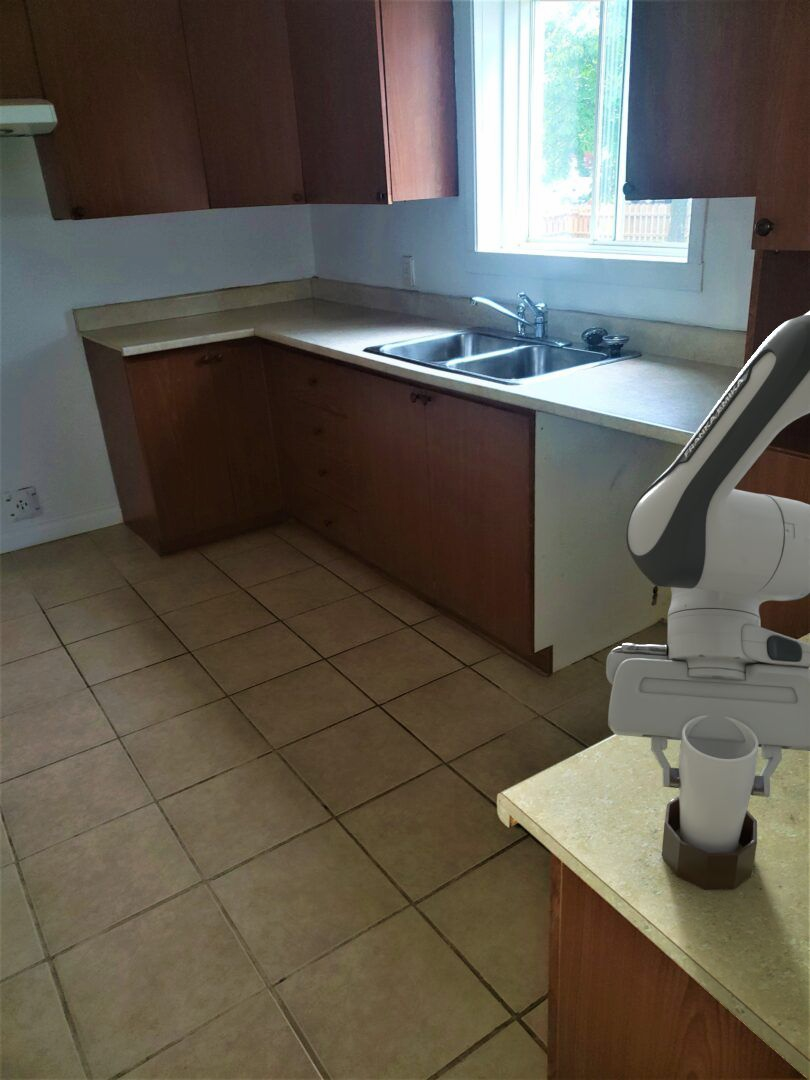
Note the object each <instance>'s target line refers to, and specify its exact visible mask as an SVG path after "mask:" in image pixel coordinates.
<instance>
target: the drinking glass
mask: <svg viewBox="0 0 810 1080" xmlns="http://www.w3.org/2000/svg"><path fill="white" fill-rule="evenodd" d="M706 717H708V716H699V717H696V718H693V719H692V720H690V721H689V722H687V723H686V724H685V726H684V728H683V730H682V737H681V740H680V744H679V752H678V753H679V754H678V768H679V777H678V778H679V780H680V787H679V788H678V796H679V803H680V829H679V838H680V839H681V841H683V842H685V843H687V844H689V845H692V846H694V847H696V848H698V849H700V850H703V851H705V852H707V853H737V852H738V845H739V838H740V834H741V830H742V826H743V823H744V819H745V815H746V811H748V807H749V803H750V800H751V796H752V795H751V792H752V788H753V784H754V779H755V775H757V774H756V773H757V766H758V756H759V747H758V739H757V737H756V735H755V733H754V732H753V731H752V730H751V729H750V728H749V727H748V726H746V725H745V724H743V723H741V722H740V721H737V720H735V719H732V718H729V717H725V718H726V719H728V720H730V721H731V722H732V723H734V724H735V725H736V726H737V727H738V728H739V729H740V730H741V732H742V733H743V735H744V737H745V740H746V742H744V743H741V742H729V741H717V740H705V739H693V738H688V734H689V732H690V730H691V729H692V727H693V726H694V725H695V724H696V723H697V722H699V721H700V720H702V719H703V718H706Z"/></svg>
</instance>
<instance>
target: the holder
mask: <svg viewBox="0 0 810 1080" xmlns="http://www.w3.org/2000/svg"><path fill="white" fill-rule="evenodd" d="M678 831H680V803H679V795H677V796H676V797H674V798H673V799H671V800H670V801H668V802H666V808H665V815H664V822H663V833H662V834H663V835H662V848H661V857H662V858H663V860H664V862H666V864H667V866H668V867H669V868H670V870H671V871H672V873H674V875H675V876H676V877H677V878H678V879H681V880H683V881H685V882H687V883H690V884H691V885H694V886H696V887H698V888H700V889H702V890H703V891H713V890H714V891H715V890H716V891H717V890H721V891H722V890H735V889H736V888H737V887H739V886H740V885H742V884H743V883H744V882H746V881H747V880H748V879H749V878H751V877H752V876H753V872H754V864H755V857H756V851H757V844H758V820H757V819H756V818H755V817H754V816H753V814H751V813H750V812H749V810H747V811H746V815H745V819H744V823H743V826H742V830H741V834H740V838H739V842H738V845H740V846H741V847H742V848H741V849H739V850H737V853H707V852H705V851H703V850H700V849H698V848H696V847H694V846H692V845H689V844H687V843H685V842H683V841H681V839H680V836H679V835H678V834H677V833H676V832H678Z"/></svg>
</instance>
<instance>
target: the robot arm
mask: <svg viewBox="0 0 810 1080" xmlns="http://www.w3.org/2000/svg"><path fill="white" fill-rule="evenodd" d="M808 414H810V310H809V311H807V312H806V313H804V314H803V315H800V316H797V317H794V318H791V319H788V320H787V321H784V322H783V323H782V324H780V325H779V326H778V327H777V328H775V329H774V330H773V331H772V333H771V334H769V335H768V336H767V338H766V339H765V340H764V341H763V342H762V344H761V345H760V346H759V347H758V348H757V349H756V351H755V352H754V353H753V354H752V355H751V357H750V359H748V360H747V362H746V364H745V365H744V366H743V368H742V369H740V372H739V373H738V374H737V376H736V377H735V378H734V380H733V381H732V382H731V383H730V385H729V386H728V388H727V389H726V390H725V391H724V393H723V394H722V396H721V397H720V398H719V400H718V401H717V403H716V404H714V406H713V407H712V409H711V411H710V412H709V413H708V415H707V417H705V419H704V420H703V422H702V423H701V424H700V426H699V427H698V428H697V430H696V431H695V433H694V434H693V435H692V437H691V438H690V439H689V440H688V442H687V443H686V445H684V447H683V449H682V450H681V451H680V453H679V454H678V455H677V457H676V458H675V459H674V461H673V462H672V464H670V466H669V467H668V468H667V469H666V470H664V472H663V473H661V475H660V476H659V477H658V478H657V479H656V480H655V481H654V482H653V483H652V484H650V485H649V486H648V487H647V489H645V490H644V492H643V493H642V494H641V495H640V496H639V498H638V500H637V501H636V503H635V504H634V506H633V508H632V510H631V513H630V515H629V519H628V522H627V526H626V533H625V536H626V540H625V541H626V547H627V551H628V552H629V554H630V556H631V558H632V560H633V562H634V563H635V565H636V566H637V568H638V569H639V570H640V572H641V573H642V574H643V575H644V577H646V579H648V581H650V583H652V584H653V585H654V586H656V587H662V588H670V592H671V599H670V600H671V601H670V605H669V607H668V612H667V644H653V643H652V644H636V643H633V642H625V643H622V644H621V646H617V647H615V648H613V649H612V650H610V651H609V652H608V654H607V657H606V658H605V659H606V660H605V661H606V662H605V676H606V680H607V681H608V682H609V684H610V685H611V692H610V698H609V704H608V715H607V717H608V718H607V727H608V728H609V730H610V731H611V732H612V733H613V734H614V735H615V736H624V737H625V736H626V737H636V738H637V737H638V738H646V739H647V738H648V739H650V750H651V752H652V754H653V756H654V758H655V759H656V761H657V763H658V765H659V766H660V768H661V769H662V787H663V788H670V789H671V788H672V789H679V787H680V780H679V767H672V766H671V764H670V762H669V760H668V758H667V757H666V755H665V753H664V751H666V750H667V748H668V740H671V741H672V740H673V741H681V737H682V730H683V728H684V726H685V724H686V723H687V722H689V721H690V720H692V719H693V718H696V717H699V716H708V717H706V718H703V719H702V720H700V721H699V722H697V723H696V724H695V725H694V726H693V727H692V729H691V730H690V732H689V734H688V738H693V739H705V740H717V741H729V742H741V743H744V742H746V740H745V737H744V735H743V733H742V732H741V730H740V729H739V728H738V727H737V726H736V725H735V724H734V723H732V722H731V721H730V720H728V719H726V718H725V717H729V718H732V719H735V720H737V721H740V722H741V723H743V724H745V725H746V726H748V727H749V728H750V729H751V730H752V731H753V732H754V733H755V735H756V737H757V739H758V748H761V749H760V750H761V758H762V759H763V760H767V761H766V763H765V765H764V767H763V769H762V770H761V772H760V774H759V775H757V774H755V779H754V784H753V788H752V792H751V796H755V797H762V798H769V797H770V795H771V777H772V776H773V774H774V773H775V771H776V769H777V768H778V766H779V764H780V763H781V761H782V758H783V754H782V750H789V751H790V750H791V751H802V752H803V751H804V752H810V643H807V642H806V641H803V640H799V639H796V638H793V637H790V636H787V635H784V634H782V633H780V632H779V633H778V632H775V631H773V630H770V629H768V628H765V627H762V625H761V623H762V622H761V615H760V606H761V605H762V604H763V603H765V602H768V601H775V602H790V601H791V602H792V601H798V600H803V599H805V598H807V597H809V596H810V504H808V503H805V502H803V501H799V500H795V499H791V498H786V497H781V496H777V495H771V494H768V493H767V494H766V493H756V492H751V491H745V490H741V489H736V486H737V485H738V484H739V482H740V481H741V480H742V479H743V478H744V476H745V475H746V474H747V472H748V471H749V470H750V469H751V468H752V466H753V465H754V464H755V463H756V461H757V460H758V459H759V457H761V455H762V454H763V453H764V451H765V450H766V449H767V448H768V446H770V444H771V443H772V442H773V440H774V439H775V438H776V436H777V435H778V434H779V433H780V432H781V431H783V429H785V428H786V427H787V426H788V425H790V424H791V423H793V422H794V421H796V420H797V419H800V418H801V417H804V416H806V415H808Z"/></svg>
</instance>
